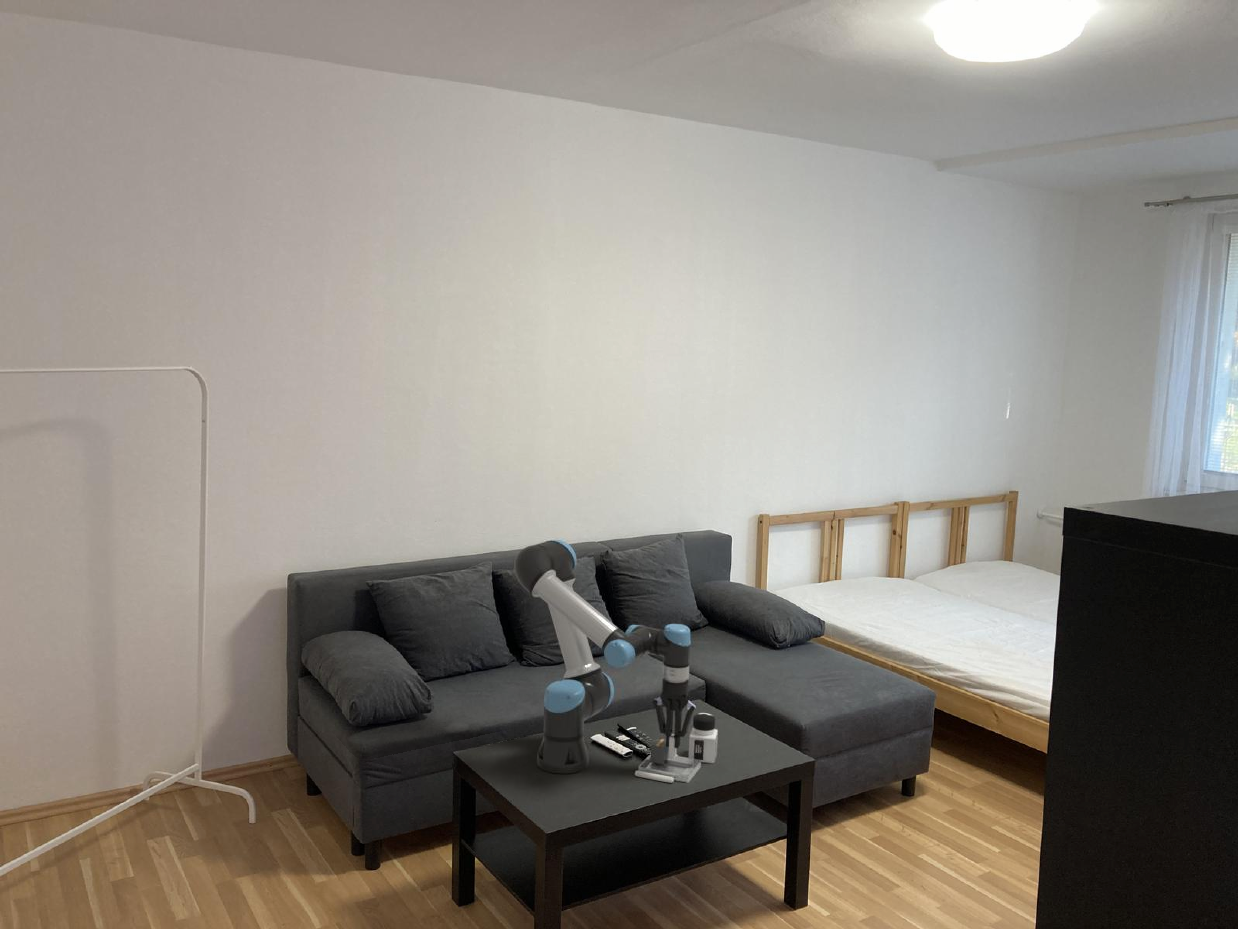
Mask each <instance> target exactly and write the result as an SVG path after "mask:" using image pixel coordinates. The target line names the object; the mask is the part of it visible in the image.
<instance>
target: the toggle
mask: <svg viewBox="0 0 1238 929" xmlns="http://www.w3.org/2000/svg"><path fill="white" fill-rule="evenodd" d="M650 749H651V754H650V761H651V762H656V763H661V764H664V763H665V761H666V760H667V759H668V758H669V747H667V746H666V739H665V738H661V739H660V738H656V739H655V740H654V741H653V742H652V743H651V744H650Z"/></svg>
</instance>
